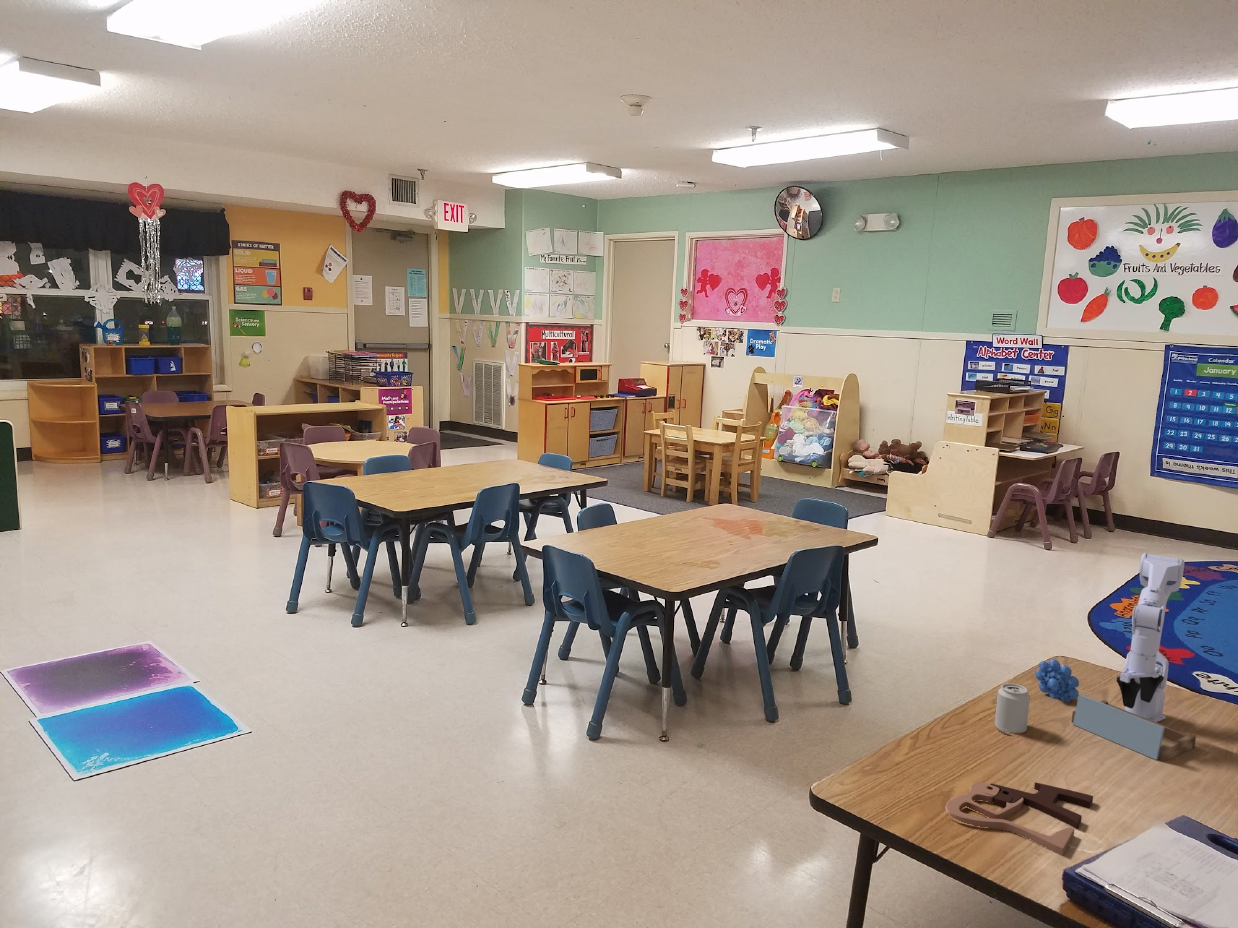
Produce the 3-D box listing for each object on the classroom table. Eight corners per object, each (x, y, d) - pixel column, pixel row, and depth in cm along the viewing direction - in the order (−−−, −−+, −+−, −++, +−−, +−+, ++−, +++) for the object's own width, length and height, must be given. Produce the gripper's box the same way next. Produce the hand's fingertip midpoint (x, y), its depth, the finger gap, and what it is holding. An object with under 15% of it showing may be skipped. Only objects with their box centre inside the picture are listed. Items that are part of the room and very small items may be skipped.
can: (1020, 725, 234) (1024, 682, 232) (1030, 739, 227) (1035, 694, 224) (990, 723, 235) (994, 680, 233) (999, 737, 227) (1004, 692, 225)
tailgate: (1074, 723, 232) (1080, 694, 231) (1157, 759, 214) (1164, 727, 214) (1072, 724, 232) (1078, 694, 231) (1156, 759, 214) (1162, 727, 213)
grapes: (1027, 699, 250) (1031, 658, 248) (1035, 692, 255) (1040, 652, 252) (1072, 713, 242) (1077, 671, 240) (1080, 705, 247) (1084, 664, 245)
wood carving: (1092, 804, 198) (982, 768, 213) (1093, 795, 198) (983, 760, 212) (1059, 863, 177) (939, 818, 191) (1060, 853, 176) (940, 809, 191)
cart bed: (1102, 715, 241) (1104, 699, 240) (1193, 752, 221) (1196, 735, 220) (1070, 727, 233) (1072, 711, 233) (1162, 766, 214) (1164, 749, 213)
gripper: (1143, 662, 217) (1136, 715, 219) (1176, 652, 224) (1169, 704, 226) (1114, 652, 223) (1108, 704, 225) (1147, 643, 230) (1141, 694, 232)
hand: (1136, 703), depth 226 cm, fingers open, 7 cm apart
